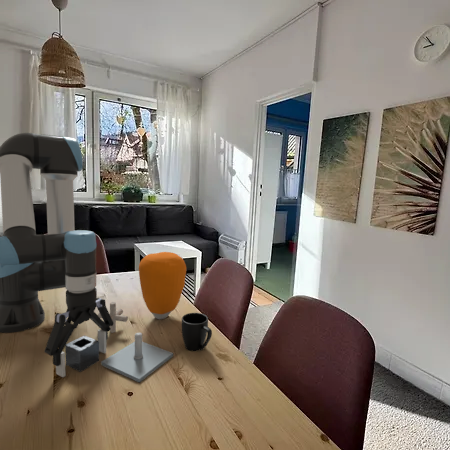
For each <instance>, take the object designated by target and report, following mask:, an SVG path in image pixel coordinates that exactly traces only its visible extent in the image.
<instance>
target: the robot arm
mask: <svg viewBox="0 0 450 450" xmlns="http://www.w3.org/2000/svg"><path fill="white" fill-rule="evenodd" d="M83 164H84V163H83V154H82V150H81V146H80V143H79V142H78V141H77V140H76V138H73V137H68V136H63V135H62V136H61V135H51V134H45V133H44V134H42V133H32V132H19V133H17V134H14V135H12V136H10V137H9V138H8V139H5V141H3V142H2V143H1V145H0V194H1V197H0V199H1V216H2V217H1V218H2V221H1V222H2V236H0V333H2V334H5V333H6V334H8V333H9V334H10V333H12V334H13V333H18V332H23V331H27V330H30V329H33V328H35V327H37V326H39V325H41V324H42V323H43V322H44V321H45V318H46V317H45V314H46V313H45V310H44V308H43V305H42V303H41V301H40V299H39V292H42V291H43V292H44V291H49V290H50V291H51V290H56V289H62V288H64V289H65V290H66V291H65V304H66V307H67V308H66V310H65V312H62V313H60V312H56V313H55V315H54V324H53V326H52V328H51V332H50V334H49V337H48V340H47V343H46V345H45V347H44V348H45V349H44V353H45V354H47V355H49V356H51V357H52V364H53V365H54V366H55V374H56V375H58V376H59V377H61V378H64V377H66V353H65V351H64V349H65V345H66V344H68V343H69V342H68V341H69V340H70V338H71V336H72V334H73V333H74V331H75V329H77V328H78V326H79V325H81V324H83V323H84V322H89V321H90V320H91V321H92V322H93V323H94V324H95V325H96V326H97V327H98V328H99V329H97V341H99V353H102V354H106V353H107V340H108V339H109V337H108V336H109V332H110V329H111V328H110V326H113V324H114V323H113V321H112V318H111V316H110V311H109V309H108V308H107V305H106V299H104V298H101V297H98V295H97V291H98V290H97V246H98V245H97V237H96V236H97V235H96V233H95V232H94V231H91V230H82V229H77V230H75V229H76V228H75V201H74V200H75V199H74V195H75V194H74V180H75V179H76V178H77V177H78V173H79V172H81V171H82V170H83ZM33 169H38V170H40V176H41V177H42V178H43V179H44V180H45V194H46V195H45V197H46V220H47V224H46V225H47V233H45V234H37V231H36V220H35V212H34V210H35V209H34V202H33V194H32V192H33V191H32V182H31V172H32V171H33ZM96 308H97V310H98V313H96V312H95V310H96ZM99 313H100V315H101V317H102V318H99V317H98V314H99ZM103 321H104V322H103Z"/></svg>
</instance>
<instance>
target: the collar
mask: <svg viewBox="0 0 450 450" xmlns="http://www.w3.org/2000/svg"><path fill="white" fill-rule="evenodd" d="M64 349H65V351H64V352H65V366H67V367H68V368H71V369H73V370H75V371H76V372H79V373H82V372H83V371H84V370H86V369H88V368H90V367H92V366H93V365H95V364H96V363H98V362H100V351H99V341H98V339H94V338H92V337H90V336H87V335H82V336H80V337H78V338H76V339H74V340H72V341H70V342H67V343H66V345H65V347H64Z"/></svg>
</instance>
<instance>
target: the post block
mask: <svg viewBox="0 0 450 450" xmlns="http://www.w3.org/2000/svg"><path fill="white" fill-rule="evenodd" d="M173 357H174V353H173V352H171V351H169V350H165V349H163V348H161V347H157V346H155V345H153V344H150V343H147V342H144V341H143V333H142V332H136V333H134V341H133V342H132V343H130V344H128V345H127V346H125V347H123V348H122V349H120V350H118V351H117V352H115V353H114V354H112V355H111V354H110V356H108V357H107V358H105V359H103V360H101V361H100V365H101V366H103V367H104V368H106V369H109V370H110V371H111V370H112V371H113V372H115V373H118V374H120V375H122V376H124V377H126V378H129V379H131V380H133V381H135V382H136V383H141V382H142V381H143V380H145V379H146V378H148V377H149V375H151V374H152V373H153V372H154V371H156V370H158V369H159V368H160V367H161V366H163V365H164V364H165V363H166V362H168V361H169V360H170V359H171V358H173Z"/></svg>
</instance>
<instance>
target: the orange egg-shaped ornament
mask: <svg viewBox="0 0 450 450" xmlns="http://www.w3.org/2000/svg"><path fill="white" fill-rule="evenodd" d="M138 274H139V275H138V276H139V283H140V290H141V294H142V298H143V301H144V303H145V306H146V308H147V310H148V312H150V313H151V315H153V317H154V318H155V319H157V320H162V319H163V320H164V319H166V318H167V317H168V316H169V315H170V314H171V313H172V312H173V311H174V310H175V309H176V308H177V307H178V305H179V303H180V299H181V296H182V293H183V290H184V288H185V284H186V283H185V282H186V281H185V280H186V275H187V264H186V262H185V260H184V258H183V257H182V256H180V255H178V254H177V253H175V252H171V251H170V252H169V251H160V252H154V253H149V254H146V255H145V256H144V257H143V258H142V259H141V260H140V262H139V264H138Z"/></svg>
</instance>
